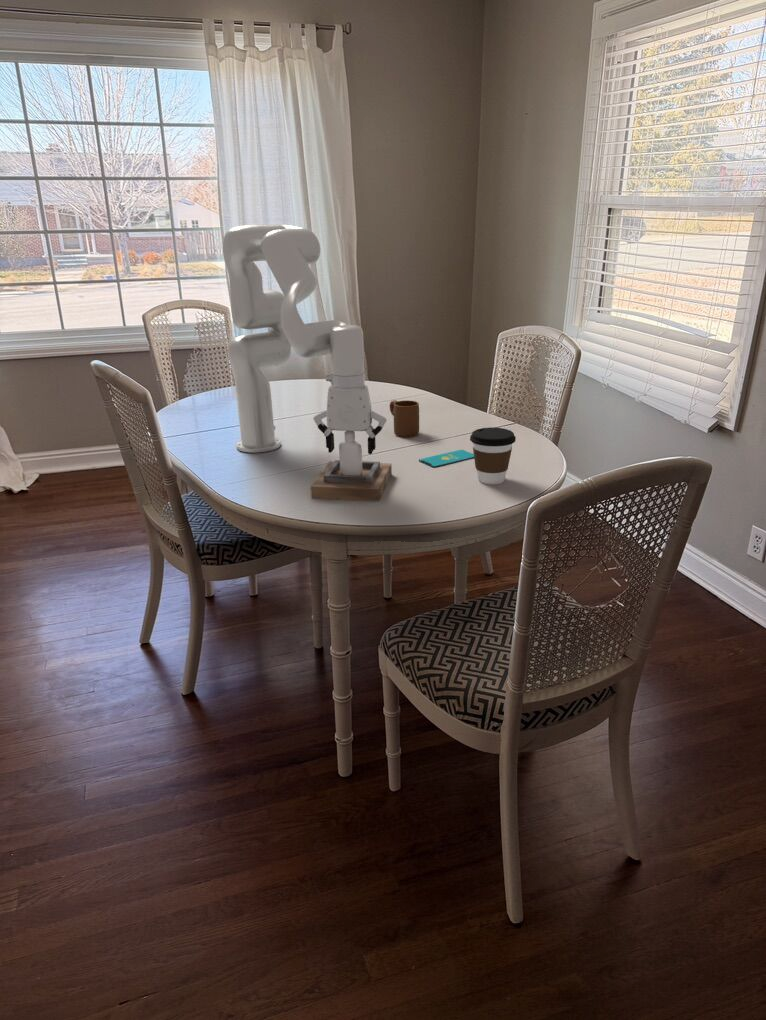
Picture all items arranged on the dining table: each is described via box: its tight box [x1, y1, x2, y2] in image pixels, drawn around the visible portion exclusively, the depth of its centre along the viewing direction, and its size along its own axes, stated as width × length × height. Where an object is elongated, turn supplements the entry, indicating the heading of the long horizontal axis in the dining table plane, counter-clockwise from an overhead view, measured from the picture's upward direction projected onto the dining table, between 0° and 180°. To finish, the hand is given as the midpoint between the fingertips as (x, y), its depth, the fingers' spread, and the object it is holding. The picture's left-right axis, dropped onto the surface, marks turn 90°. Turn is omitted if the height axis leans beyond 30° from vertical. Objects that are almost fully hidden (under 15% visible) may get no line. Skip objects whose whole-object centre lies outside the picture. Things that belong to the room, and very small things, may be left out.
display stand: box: [310, 459, 393, 502], centre depth 171 cm, size 18×16×4 cm
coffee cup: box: [469, 426, 517, 485], centre depth 171 cm, size 11×11×12 cm
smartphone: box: [418, 449, 474, 469], centre depth 189 cm, size 7×1×15 cm
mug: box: [389, 399, 420, 438], centre depth 211 cm, size 12×8×9 cm, turn 34°
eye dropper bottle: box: [338, 431, 363, 475], centre depth 169 cm, size 4×6×12 cm
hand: (351, 451), depth 169 cm, fingers open, 9 cm apart
